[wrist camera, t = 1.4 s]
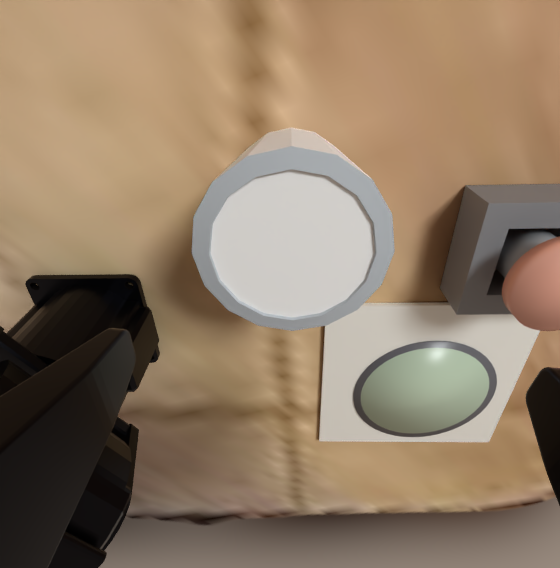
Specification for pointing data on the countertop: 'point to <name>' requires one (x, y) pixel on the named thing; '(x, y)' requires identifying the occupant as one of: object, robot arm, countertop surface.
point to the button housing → (492, 240)
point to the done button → (532, 277)
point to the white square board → (419, 373)
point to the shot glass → (292, 233)
